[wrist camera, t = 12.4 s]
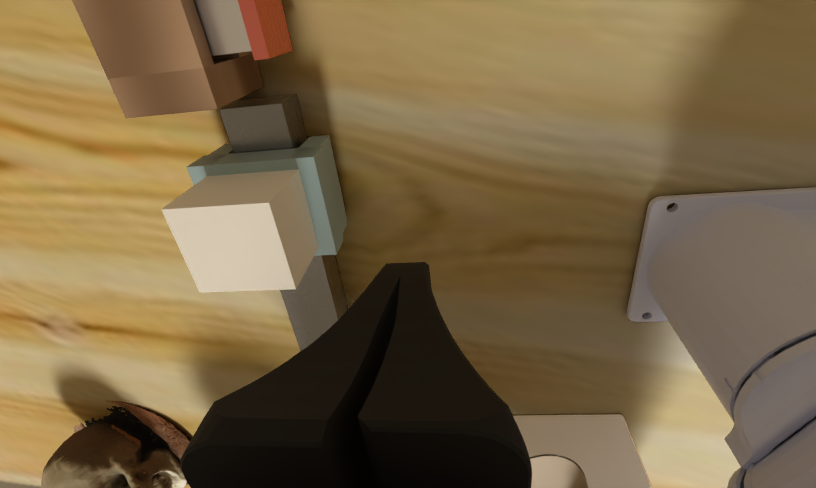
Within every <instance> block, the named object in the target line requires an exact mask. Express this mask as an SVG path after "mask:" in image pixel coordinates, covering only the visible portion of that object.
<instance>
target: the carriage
mask: <svg viewBox="0 0 816 488" xmlns="http://www.w3.org/2000/svg"><path fill="white" fill-rule="evenodd" d="M187 170H188V172H189V174H190V177H191V179H192V182H193V184H194V186H193V187H191V188H190V189H189V190H187V191H186V192H185V193H183V194H182V195H181V196H179V197H178V198H176V199H175V200H174V201H172V202H171V203H170V204H168V205H167V206H166V207H164V208H163V209H161V210H162V212H163V214H164V217H165V219H166V221H167V223H168V225H169V227H170V229H171V232H172V234H173V236H174V238H175V240H176V242H177V245H178V247H179V249H180V251H181V253H182V255H183V257H184V260H185V262H186V264H187V266H188V268H189V270H190V273H191V275H192V277H193V279H194V281H195V283H196V285H197V288H198V290H199V292H227V291H258V290H290V289H297V287H298V285H299V283H300V281H301V279H302V277H303V276H304V274H305V272H306V270H307V268H308V266H309V264H310V263H311V261H312V259H313V257H314V256H319V255H337V253H338V251H339V249H340V247H341V245H342V242H343V240H344V237H343V233H344V230H345V228H346V226H347V224H348V221H347V216H346V212H345V207H344V202H343V197H342V193H341V188H340V183H339V179H338V174H337V169H336V165H335V160H334V155H333V150H332V146H331V141H330V136H329V135H323V136H311V137H309V138H308V139H307V140H306V141H305V142H304V143H303V144H302V145H301V146H300V147H299V148H293V149H281V150H269V151H257V152H245V153H234V152H233V149H232V147H231V144H225V145H223V146H222V147H220V148H218V149H217V150H215V151H214V152H212V153H211V154H209V155H208V156H203V157H201V158H200V159H198V160H197V161H195V162H194V163H192V164H190V165H189V166H187Z"/></svg>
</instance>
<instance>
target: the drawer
mask: <svg viewBox="0 0 816 488" xmlns="http://www.w3.org/2000/svg"><path fill="white" fill-rule="evenodd" d="M193 1H194V4H195V7H196V10H197V13H198V17H199V20H200V23H201V26H202V29H203V32H204V35H205V38H206V41H207V44H208V47H209V50H210V53H211V56H215V55H224V54H232V53H240V52H249V51H252V54H253V57H254V60H262V59H270V58H273V57H276V56H278V55H281V54H284V53H287V52H290V51H293V49H292V45H291V41H290V36H289V32H288V28H287V24H286V19H285V15H284V11H283V6H282V2H281V0H193Z"/></svg>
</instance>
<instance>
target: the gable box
mask: <svg viewBox="0 0 816 488" xmlns="http://www.w3.org/2000/svg"><path fill="white" fill-rule="evenodd" d="M513 417H514V419H515V421H516V423H517V425H518V428H519V430H520V432H521V434H522V437H523V439H524V442H525V444H526V447H527V450H528V454H529V457H530V461H531V466H532V483H531V488H652V486H651V484H650V481H649V479H648V476H647V474H646V471H645V468H644V466H643V463H642V461H641V458H640V456H639V453H638V451H637V448H636V446H635V443H634V441H633V438H632V436H631V433H630V431H629V428H628V426H627V423H626V420H625V418H624V416H622V415H620V414H592V415H513Z"/></svg>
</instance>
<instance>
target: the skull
mask: <svg viewBox="0 0 816 488" xmlns="http://www.w3.org/2000/svg"><path fill="white" fill-rule="evenodd" d="M108 402H112V403H115V404H117V405H120V407H116V406H112V407H113V408H114V409H112V408H111V409H109V408H107V410H109V411H112V412H113V413H111V415H109V416H106V417H104V419H99V420H98V421H95V420H94V418H92V421H91V423H89V422H88V421H85V423H86V424H85V425H86V426H87V427H85V426H84V425H83V424H82V423H80V425H79V426H78V425H76V427H74V430H75V433H74V434H73V435H72V436H71V437H69V438H68V439H67V440H66V441H65V442H64V443H63V444H62V445H61V446H60V447H59V448H58V449H57V451H56V452H55V453H54V454H53V456H52V457H51V458H50V459H49V461H48V463H47V464H46V466H45V468H44V470H43V474H42V485H41V488H184V487H185V486H186V485H187V484H188V483H187V481H186V479H185V477H184V475H183V473H182V470H181V457H182V455H183V453H184V452H185V450H186V448H187V446H188V445H189V443H190V441H191V440H190V441H189V439H187V435H186V436H185V433H184V435H183V434H182V433H181V432H180V431H179V430H177V429H178V428H177V429H176V428H175V427H174V425H172V424H171V423H169V422H168V421H165V420H166V419H165V420H164V419H162V418H163V417H162V418H161V417H160V416H156V413H154V412H152V411H150V412H148V411H149V410H148V411H146V410H145V409H142V408H140V407H137V406H135V405H132V404H127V403H123V402H116V401H108ZM121 406H122V407H121ZM123 407H124V408H123ZM122 408H123V409H124V410H123V409H122ZM118 409H120V411H121V410H123V411H125V412H120V411H119V410H118ZM141 410H142V411H141ZM151 412H152V413H151ZM125 414H127V416H126V415H125ZM92 423H93V424H92ZM176 427H177V426H176ZM177 443H178V444H177Z"/></svg>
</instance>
